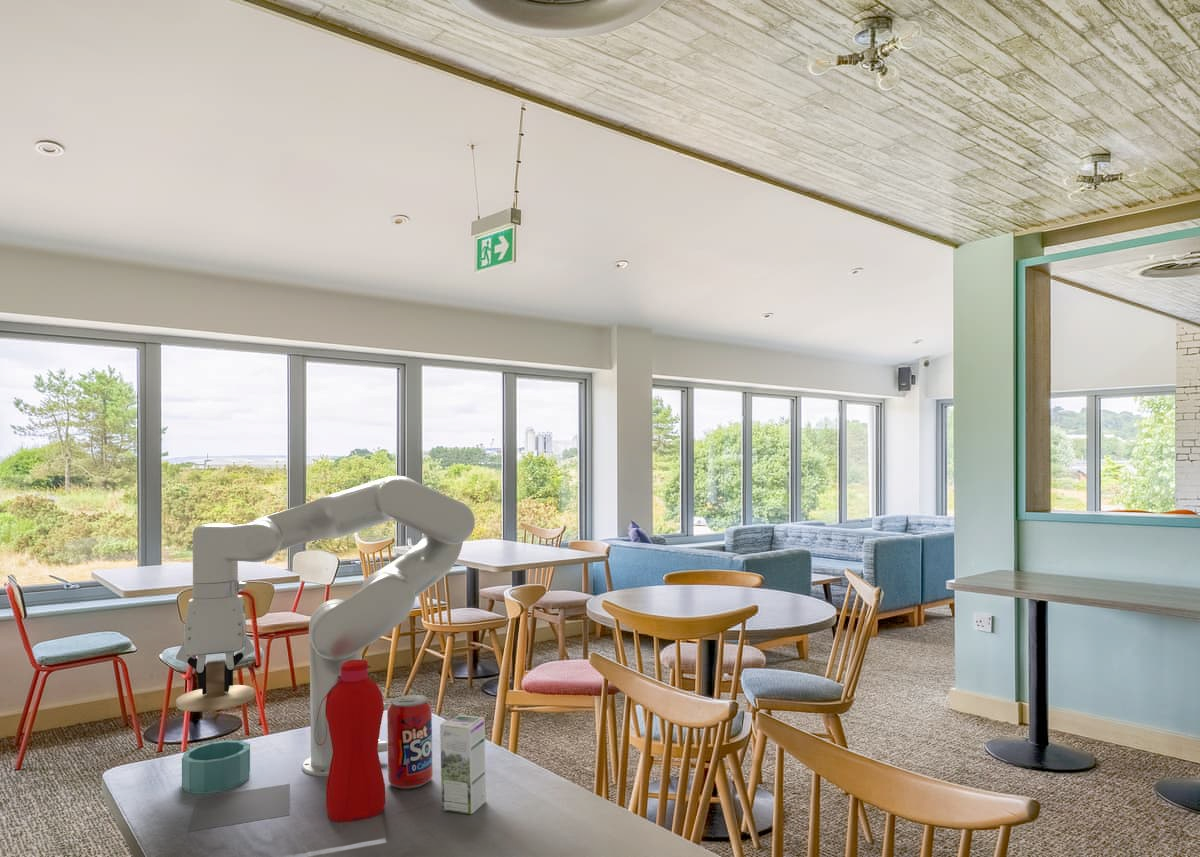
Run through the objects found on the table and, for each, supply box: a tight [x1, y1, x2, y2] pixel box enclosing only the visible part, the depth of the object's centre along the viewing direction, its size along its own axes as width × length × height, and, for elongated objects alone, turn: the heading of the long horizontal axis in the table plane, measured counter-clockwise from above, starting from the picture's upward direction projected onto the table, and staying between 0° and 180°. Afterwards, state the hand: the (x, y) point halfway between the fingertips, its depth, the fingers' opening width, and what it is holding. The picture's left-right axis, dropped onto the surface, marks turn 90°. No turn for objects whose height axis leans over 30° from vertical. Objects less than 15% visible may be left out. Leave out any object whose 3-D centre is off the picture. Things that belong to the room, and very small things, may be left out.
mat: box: [187, 783, 291, 833], centre depth 138 cm, size 15×14×1 cm
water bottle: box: [315, 659, 386, 823], centre depth 136 cm, size 9×11×25 cm
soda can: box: [386, 694, 434, 790], centre depth 148 cm, size 8×8×15 cm
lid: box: [175, 658, 255, 713], centre depth 150 cm, size 13×13×7 cm
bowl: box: [181, 740, 251, 795], centre depth 150 cm, size 11×11×6 cm
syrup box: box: [439, 714, 487, 815], centre depth 138 cm, size 6×6×14 cm
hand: (216, 690), depth 150 cm, fingers closed on lid, 3 cm apart
